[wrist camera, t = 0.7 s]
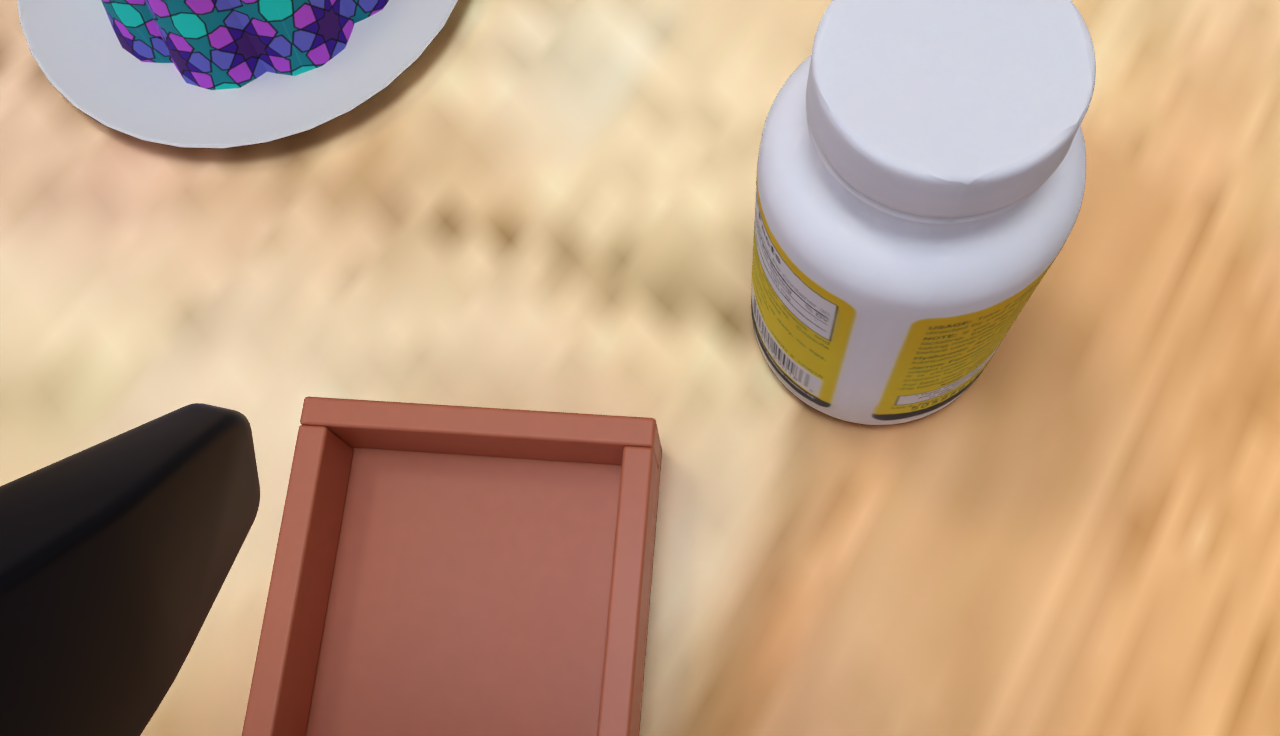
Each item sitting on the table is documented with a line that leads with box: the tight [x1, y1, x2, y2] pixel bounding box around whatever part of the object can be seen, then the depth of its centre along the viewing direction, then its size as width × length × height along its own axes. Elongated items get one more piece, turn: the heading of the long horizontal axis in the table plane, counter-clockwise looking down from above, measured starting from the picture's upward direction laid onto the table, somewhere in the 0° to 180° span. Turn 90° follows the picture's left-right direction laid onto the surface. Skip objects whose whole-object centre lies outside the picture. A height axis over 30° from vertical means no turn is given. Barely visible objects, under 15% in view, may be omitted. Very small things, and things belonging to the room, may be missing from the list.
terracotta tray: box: [242, 397, 662, 736], centre depth 22 cm, size 9×7×2 cm
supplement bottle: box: [751, 0, 1096, 425], centre depth 21 cm, size 5×5×10 cm
